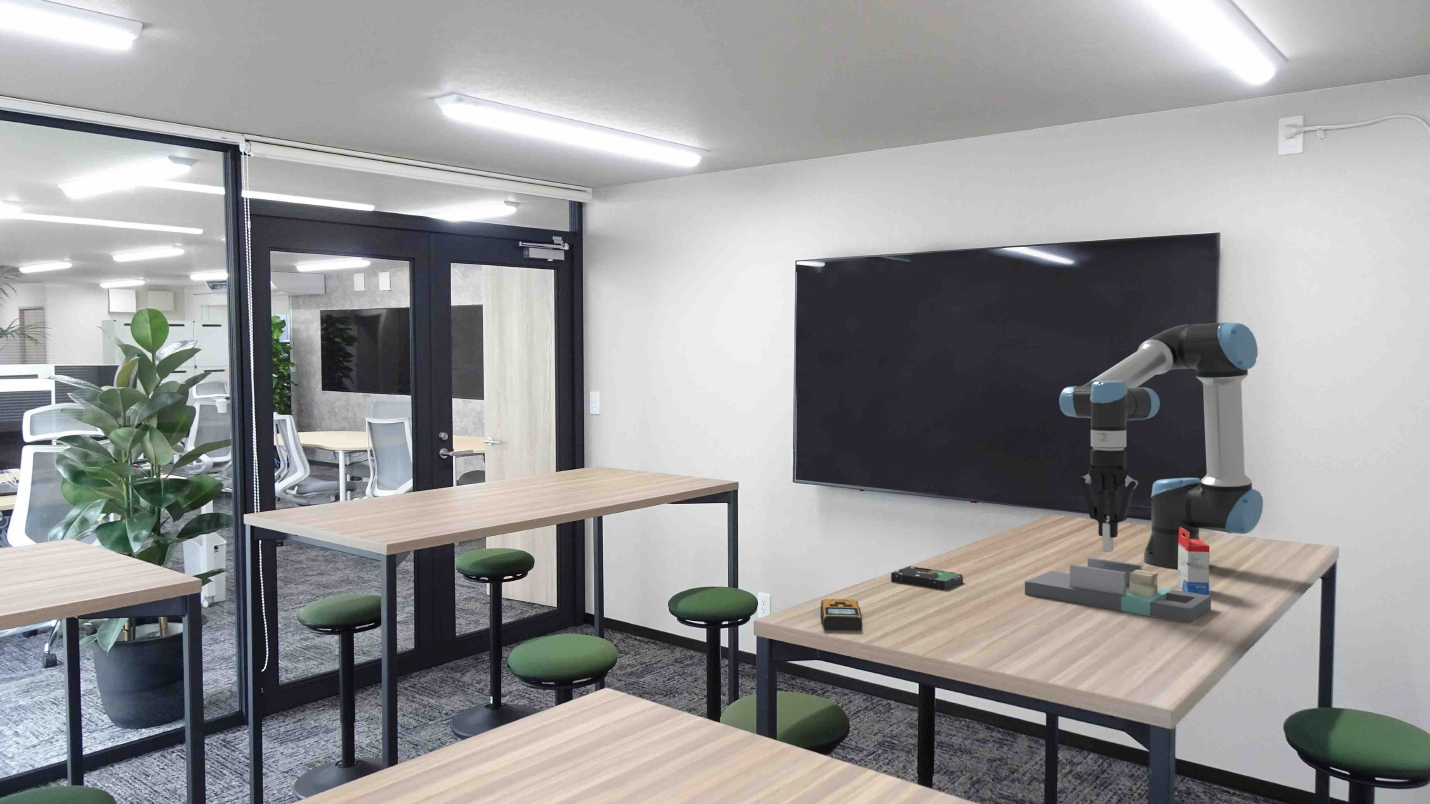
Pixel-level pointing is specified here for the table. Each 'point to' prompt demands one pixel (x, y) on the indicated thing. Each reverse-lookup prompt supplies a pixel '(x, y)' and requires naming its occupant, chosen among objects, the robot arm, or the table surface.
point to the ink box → (1193, 564)
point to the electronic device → (841, 614)
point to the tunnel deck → (1116, 591)
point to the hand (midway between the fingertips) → (1107, 550)
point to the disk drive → (927, 577)
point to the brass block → (1143, 583)
